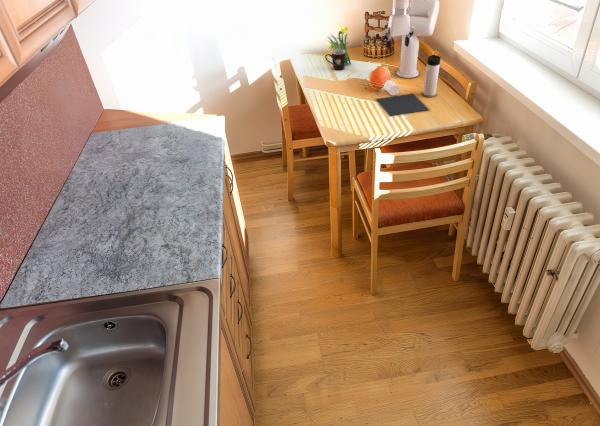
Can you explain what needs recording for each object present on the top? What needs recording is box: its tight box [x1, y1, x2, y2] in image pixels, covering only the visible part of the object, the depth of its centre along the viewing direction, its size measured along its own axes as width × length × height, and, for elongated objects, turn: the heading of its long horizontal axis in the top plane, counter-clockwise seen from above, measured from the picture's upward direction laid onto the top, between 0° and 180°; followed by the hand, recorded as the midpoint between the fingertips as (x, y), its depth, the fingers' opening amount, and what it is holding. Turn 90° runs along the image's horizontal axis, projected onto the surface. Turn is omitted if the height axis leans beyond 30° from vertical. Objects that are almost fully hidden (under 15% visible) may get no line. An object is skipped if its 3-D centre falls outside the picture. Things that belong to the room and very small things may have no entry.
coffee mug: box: [324, 49, 346, 71], centre depth 270 cm, size 12×9×10 cm
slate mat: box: [376, 93, 430, 117], centre depth 229 cm, size 20×20×1 cm
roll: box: [383, 79, 400, 96], centre depth 241 cm, size 6×12×6 cm, turn 13°
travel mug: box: [423, 54, 441, 98], centre depth 230 cm, size 6×7×20 cm
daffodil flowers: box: [326, 21, 352, 66], centre depth 284 cm, size 17×15×35 cm
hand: (397, 47), depth 226 cm, fingers open, 9 cm apart
